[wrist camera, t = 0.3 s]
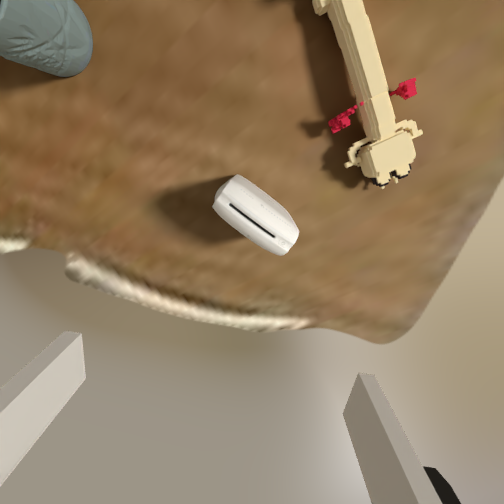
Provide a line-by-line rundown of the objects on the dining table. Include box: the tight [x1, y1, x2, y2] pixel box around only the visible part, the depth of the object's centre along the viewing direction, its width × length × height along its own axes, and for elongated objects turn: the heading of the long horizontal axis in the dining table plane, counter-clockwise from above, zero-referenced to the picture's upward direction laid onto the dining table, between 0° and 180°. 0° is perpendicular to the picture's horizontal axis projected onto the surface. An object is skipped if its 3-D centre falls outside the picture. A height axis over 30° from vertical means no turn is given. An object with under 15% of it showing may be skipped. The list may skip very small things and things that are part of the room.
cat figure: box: [312, 0, 423, 189], centre depth 28 cm, size 10×9×25 cm
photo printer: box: [212, 174, 299, 256], centre depth 31 cm, size 10×4×12 cm, turn 53°
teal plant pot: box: [0, 0, 93, 77], centre depth 25 cm, size 10×10×12 cm
